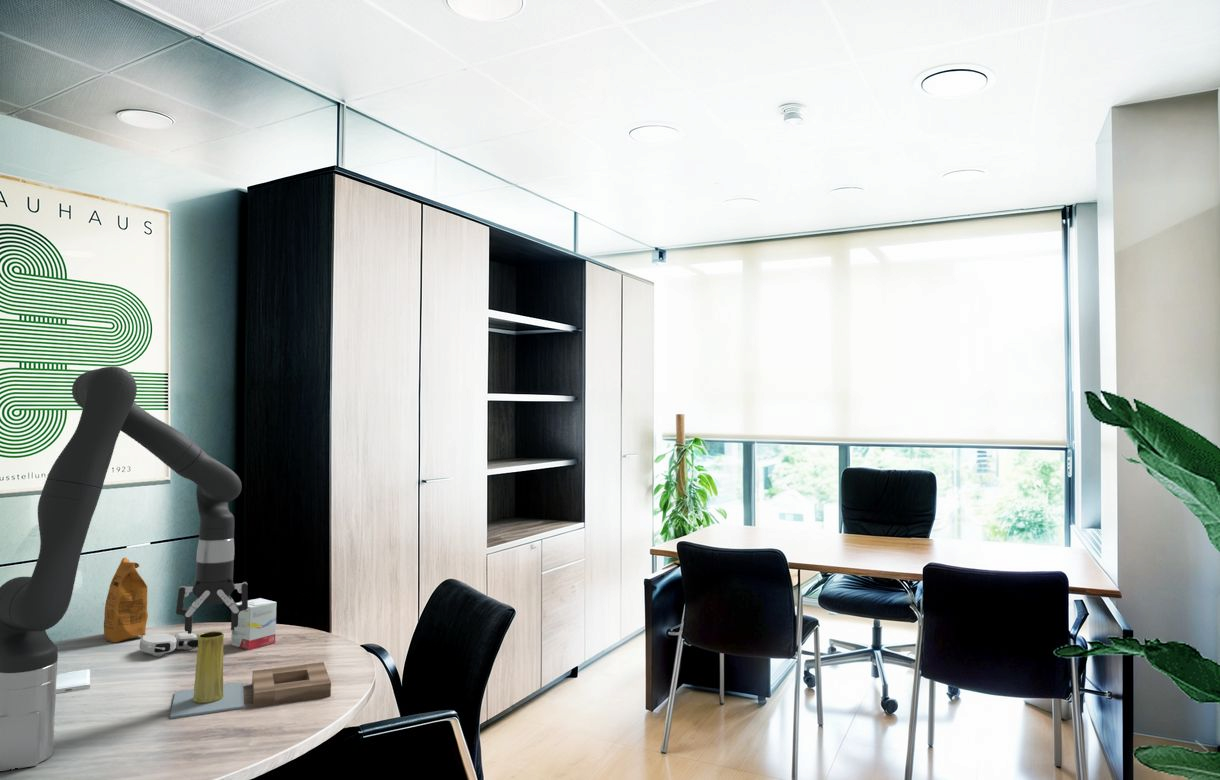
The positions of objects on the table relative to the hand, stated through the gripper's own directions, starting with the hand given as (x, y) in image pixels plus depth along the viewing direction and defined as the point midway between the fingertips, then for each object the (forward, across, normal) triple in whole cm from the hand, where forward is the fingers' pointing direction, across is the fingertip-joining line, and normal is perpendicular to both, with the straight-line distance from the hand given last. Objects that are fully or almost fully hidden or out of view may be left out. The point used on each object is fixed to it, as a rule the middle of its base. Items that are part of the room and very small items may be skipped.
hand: (211, 631), depth 168 cm
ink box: (+15, +10, +42) cm, 46 cm away
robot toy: (+15, -10, +44) cm, 48 cm away
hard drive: (+16, -30, +26) cm, 43 cm away
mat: (+15, 0, 0) cm, 16 cm away
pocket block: (+15, +17, +1) cm, 23 cm away
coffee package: (+15, -23, +64) cm, 70 cm away
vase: (+15, 0, 0) cm, 15 cm away
